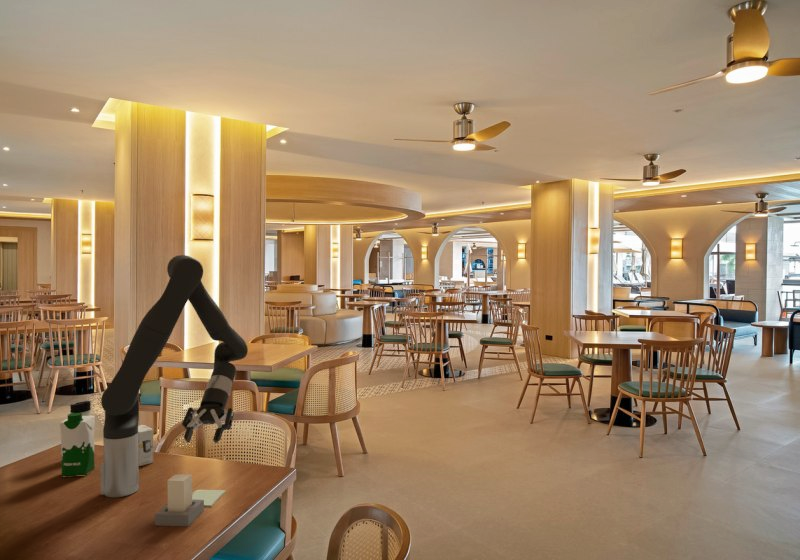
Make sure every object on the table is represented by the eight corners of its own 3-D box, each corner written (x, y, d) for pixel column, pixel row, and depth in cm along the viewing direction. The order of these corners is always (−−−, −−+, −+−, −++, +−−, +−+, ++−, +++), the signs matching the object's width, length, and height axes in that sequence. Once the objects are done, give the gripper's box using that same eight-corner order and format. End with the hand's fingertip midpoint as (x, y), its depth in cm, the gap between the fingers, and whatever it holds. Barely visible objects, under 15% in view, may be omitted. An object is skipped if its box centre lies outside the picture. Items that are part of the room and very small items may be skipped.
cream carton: (167, 521, 139) (167, 480, 138) (176, 513, 143) (176, 473, 143) (184, 522, 138) (183, 480, 138) (192, 514, 143) (191, 474, 143)
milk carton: (57, 479, 167) (56, 416, 167) (71, 468, 176) (70, 409, 176) (86, 477, 168) (85, 415, 168) (98, 467, 177) (98, 408, 177)
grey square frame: (155, 525, 137) (155, 513, 137) (172, 509, 146) (172, 498, 146) (188, 526, 136) (188, 515, 136) (203, 510, 145) (203, 499, 145)
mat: (180, 505, 148) (180, 504, 148) (196, 490, 158) (196, 489, 158) (211, 506, 147) (211, 505, 147) (225, 491, 157) (225, 490, 157)
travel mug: (82, 460, 183) (81, 404, 183) (66, 459, 185) (65, 403, 184) (96, 454, 189) (95, 399, 189) (80, 453, 191) (80, 398, 190)
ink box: (128, 461, 183) (127, 427, 183) (143, 457, 187) (142, 424, 187) (139, 467, 177) (138, 432, 177) (154, 462, 181) (153, 428, 181)
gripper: (191, 386, 162) (173, 434, 151) (235, 387, 161) (220, 435, 150) (199, 399, 168) (182, 446, 156) (242, 399, 166) (228, 447, 155)
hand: (201, 441), depth 153 cm, fingers open, 8 cm apart
